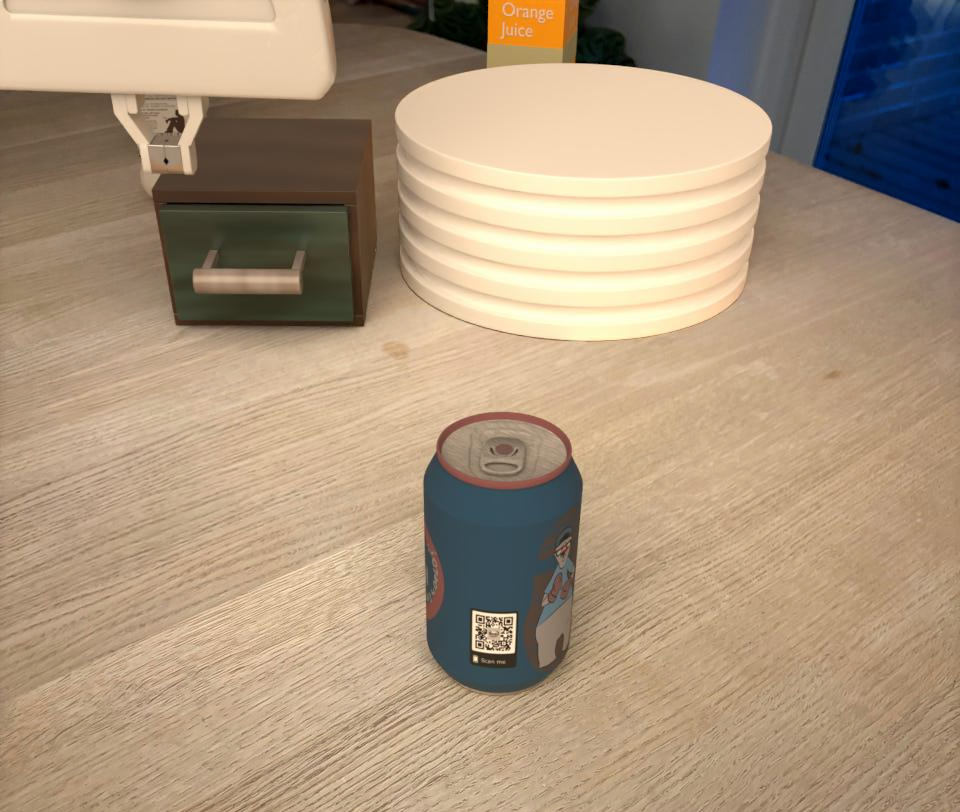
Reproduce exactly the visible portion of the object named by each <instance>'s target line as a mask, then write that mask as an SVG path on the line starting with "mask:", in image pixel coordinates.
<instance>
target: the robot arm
mask: <svg viewBox="0 0 960 812" xmlns="http://www.w3.org/2000/svg"><path fill="white" fill-rule="evenodd" d="M337 67H338V66H337V51H336V42H335V34H334V27H333V19H332V14H331V8H330V2H329V0H0V91H23V92H24V91H25V92H27V91H28V92H54V93H55V92H56V93H82V94H84V93H85V94H86V93H87V94H110V98H111V104H112V110H113V115H115V117H116V118H117V120H118V121H119V123H120V124H121V125H122V127H123V128H124V129H125V131H126V132H127V133H128V135H129V136H130V137H131V138H132V140H133V141H134V143H135V144H136V145H137V144H139V149H140V155H141V157H140V160H141V166H142V167H143V171H144V173H146V174H174V175H194V174H195V172H196V170H197V155H196V147H195V138H196V136H197V133H198V131H199V129H200V127H201V124H202V122H203V120H204V117H205V115H206V113H207V114H208V111H209V108H210V98H229V99H230V98H233V99H235V98H236V99H263V100H294V101H319V100H321V99H323V98H324V96H325V95H326V94H327V93H328V92H329V90H330V89H331V88H332V86H333V85H334V84H335V81H336V77H337V71H338V70H337V69H338V68H337ZM145 95H170V96H176V97H177V104H178V111H179V114H180V115H185V116H187V115H188V114H189V119H188V121H187V124H186V126H185V128H184V131H183V133H182V136H162V135H156V133H155V132H154V130H153V129H152V127H151V126H150V124H149V123H148V121H147V120H146V118H145V117H144V115H143V114H142V112H141V110H140V108H141V107H142V106H143V104H144V103H145V102H146V99H145Z"/></svg>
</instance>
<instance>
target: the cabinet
mask: <svg viewBox="0 0 960 812" xmlns="http://www.w3.org/2000/svg"><path fill="white" fill-rule="evenodd" d="M372 131H373V127H372V119H370V118H368V119H366V118H365V119H364V118H358V119H357V118H279V117H278V118H277V117H276V118H275V117H274V118H273V117H272V118H270V117H269V118H268V117H265V118H264V117H263V118H262V117H207V118H204V120H203V122H202V124H201V127H200V129H199V131H198V133H197V136H196V138H195V147H196V155H197V170H196V172H195V174H194V175H174V174H160V176H159V178H158V179H157V181H156V183H155V184H154V186H153V188H152V196H153V198H152V201H153V205H154V206H153V207H154V213H155V218H156V222H157V229H158V235H159V240H160V246H161V252H162V258H163V263H164V268H165V273H166V279H167V280H166V281H167V284H168V290H169V296H170V301H171V307H172V308H171V309H172V313H173V318H174V323H175V325H176V326H245V327H247V326H249V327H250V326H253V327H254V326H255V327H257V326H259V327H262V326H263V327H364V326H365V322H366V317H367V310H368V304H369V298H370V291H371V286H372V285H371V284H372V278H373V272H372V270H373V271H374V266H373V263H374V264H375V259H374V256H375V257H376V253H375V249H376V250H377V247H376V242H377V243H378V233H377V232H378V231H377V230H378V229H377V227H378V226H377V209H376V207H377V206H376V190H375V188H376V187H375V170H374V169H375V167H374V149H373V146H374V145H373V132H372ZM180 203H266V204H344V206H348V215H349V230H350V245H351V261H352V276H353V291H354V307H355V317H354V321H353V322H346V321H218V320H178V315H177V309H176V303H175V297H174V292H173V286H172V280H171V275H170V269H169V263H168V258H167V252H166V246H165V240H164V235H163V229H162V223H161V218H160V212H159V210H160V208H161V206H162V205H163V204H180Z"/></svg>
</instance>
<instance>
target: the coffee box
mask: <svg viewBox="0 0 960 812" xmlns="http://www.w3.org/2000/svg"><path fill="white" fill-rule="evenodd" d="M145 99H146V102H145V103H144V104H143V106H142V107H141V108H140V110H141V112H142V114H143V115H144V117H145V118H146V120H147V121H148V123H149V124H150V126H151V127H152V129H153V130H154V132H155V133H156V135H162V136H182V133H183V131H184V128H185V126H186V124H187V121H188V119H189V114H188V115H187V116H185V115H180V114H179V111H178V104H177V97H176V96H170V95H145ZM204 118H208V112H207V113H206V115H205V117H204ZM136 147H139V144H136Z"/></svg>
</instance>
